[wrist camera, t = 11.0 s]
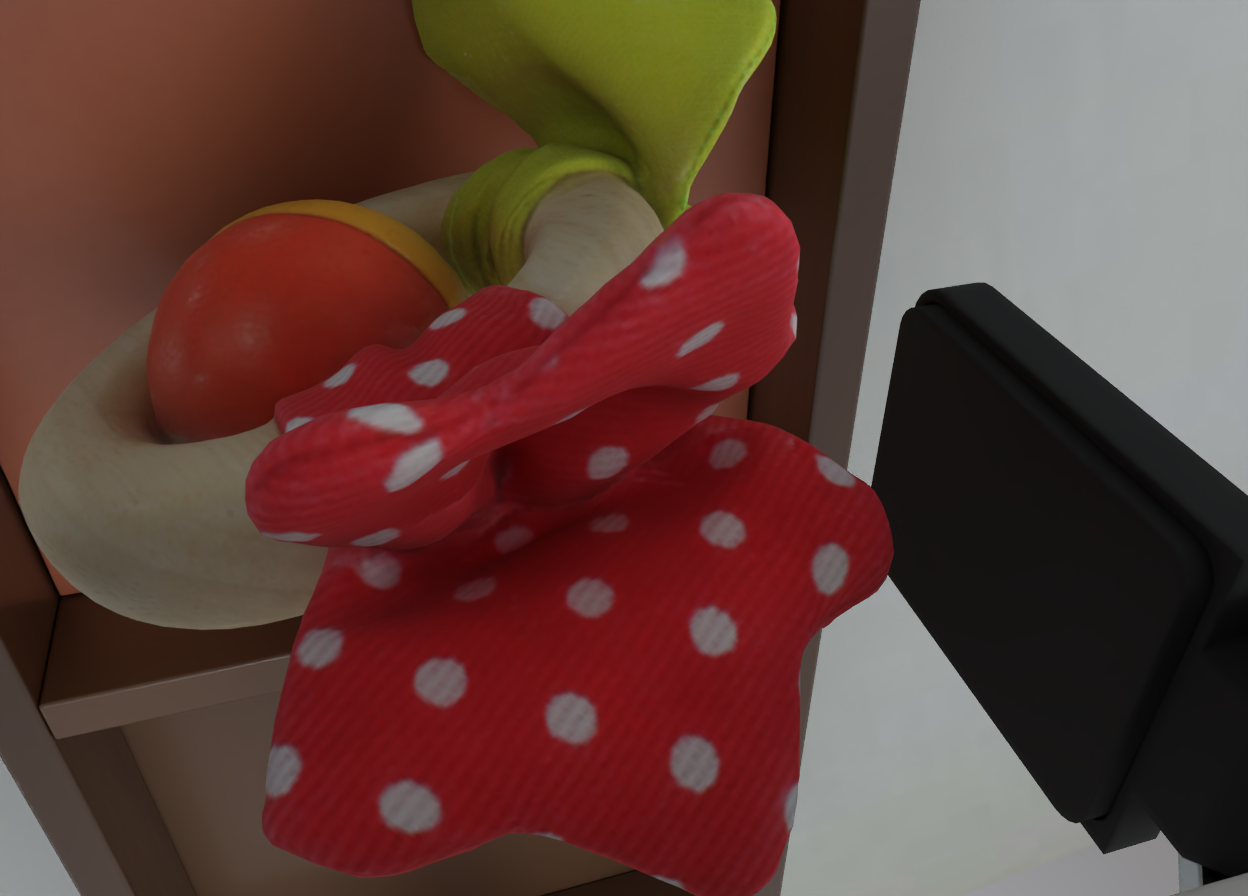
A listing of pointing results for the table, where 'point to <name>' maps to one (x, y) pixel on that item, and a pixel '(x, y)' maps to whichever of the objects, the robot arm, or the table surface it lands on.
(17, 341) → the wooden divided tray
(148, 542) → the bird rattle
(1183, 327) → the table surface
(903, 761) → the table surface
